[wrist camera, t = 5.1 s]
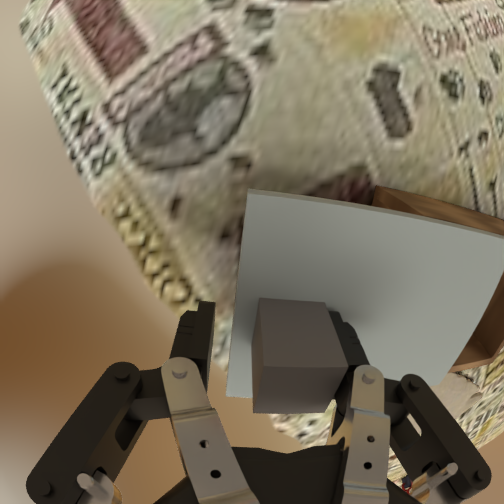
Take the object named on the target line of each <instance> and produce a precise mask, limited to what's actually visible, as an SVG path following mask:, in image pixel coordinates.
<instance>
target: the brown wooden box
mask: <svg viewBox="0 0 504 504" xmlns="http://www.w3.org/2000/svg"><path fill="white" fill-rule="evenodd" d="M372 206H374V207H379V208H385V209H390V210H395V211H400V212H405V213H410V214H415V215H420V216H425V217H429V218H434V219H438V220H443V221H447V222H451V223H456V224H460V225H464V226H468V227H472V228H476V229H480V230H484V231H488V232H491V233H495V234H499V235H502V236H504V220H502V219H499V218H496V217H493V216H490V215H487V214H484V213H480V212H477V211H474V210H471V209H467V208H464V207H461V206H457V205H454V204H450V203H447V202H443V201H439V200H436V199H432V198H428V197H424V196H420V195H416V194H412V193H408V192H404V191H399V190H395V189H391V188H386V187H382V186H377V185H376V188H375V193H374V197H373V201H372ZM503 346H504V271H503V274H502V276H501V278H500V281H499V283H498V285H497V287H496V289H495V292H494V294H493V296H492V298H491V300H490V302H489V304H488V306H487V308H486V310H485V312H484V314H483V316H482V317H481V319H480V321H479V323H478V325H477V327H476V328H475V330H474V332H473V334H472V335H471V337H470V339H469V340H468V342H467V344H466V345H465V347H464V349H463V350H462V352H461V353H460V355H459V356H458V358H457V359H456V361H455V362H454V364H453V365H452V367H451V368H450V370H449V371H448V373H451V372H456V371H461V370H466V369H470V368H475V367H479V366H483V365H487V364H491V363H492V362H493V361H494V359H495V358H496V356H497V355H498V353H499V352H500V350H501V349H502V347H503Z"/></svg>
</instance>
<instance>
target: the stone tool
mask: <svg viewBox="0 0 504 504" xmlns="http://www.w3.org/2000/svg"><path fill="white" fill-rule="evenodd" d="M429 387H430V388H431V389H432V391H433V392H434V393H435V394H436V396H437V397H438V398H439V400H440V401H441V402H442V403H443V405H444V406H445V407H446V409H447V410H448V411H449V413H450V414H451V415H452V416H453V418H454V419H456V418H457V417H459V416H460V415H461V414H462V413H464V412H465V411H466V410H467V409H469V408H470V407H471V406H473V405H474V404H476V403H477V402H478V401H479V400H480V399H481V398H482V395H481V393H480V392H478V393H476V392H477V391H478V390H479V389H480V387H479V386H478V385H475V384H474V383H473V382H471V381H470V379H468V380H466V378H465V377H464V376H463V375H462V376H461V375H459V374H456V372H451V373H447V374H446V376H445V377H444V378H443V380H442V381H441V383H440V384H439V385H434V386H429ZM474 393H475V394H474ZM407 417H408V419H409V420H410V422H411V423H412V425H413V426H414V428H415V429H416V431H417V432H418V433H419V434H420V433H421V429H420V427H419V426H418V424H417V423H416V422H415V420H414V419H413V417H412V416H411V414H409V415H408V416H407Z"/></svg>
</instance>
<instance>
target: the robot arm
mask: <svg viewBox="0 0 504 504" xmlns="http://www.w3.org/2000/svg"><path fill="white" fill-rule="evenodd" d="M215 305H216V302H208V301H199V305H198V310H197V311H189V310H187V311H186V312H185V313H184V314H183V315H182V316H181V317H180V321H179V324H178V328H177V332H176V335H175V339H174V343H173V347H172V350H171V354H170V358H169V360H167V361H166V362H165V363H164V364H163V366H161V367H159V368H157V369H152V370H142V371H139V369H138V368H137V367H136V366H135V365H133V364H131V363H128V362H118V363H114V364H112V365H111V366H109V368H107V370H106V371H105V372H104V374H103V375H102V376H101V377H100V379H99V380H98V381H97V383H96V384H95V385H94V387H93V388H92V389H91V390H90V392H89V393H88V394H87V396H86V397H85V398H84V400H83V401H82V402H81V403H80V405H79V406H78V407H77V409H76V410H75V412H74V413H73V414H72V415H71V417H70V418H69V420H68V421H67V422H66V424H65V425H64V426H63V428H62V429H61V430H60V432H59V433H58V435H57V436H56V437H55V439H54V440H53V441H52V443H51V444H50V446H49V447H48V449H47V450H46V451H45V453H44V454H43V456H42V457H41V458H40V460H39V461H38V463H37V464H36V466H35V467H34V469H33V470H32V471H31V473H30V475H29V476H28V478H27V481H26V489H27V492H28V494H29V496H30V498H31V499H32V500H33V501H34V502H35V503H36V504H121V503H122V495H121V492H120V490H119V489H118V487H117V486H116V485H114V481H115V479H116V478H117V476H118V474H119V472H120V470H121V469H122V467H123V465H124V463H125V462H126V460H127V458H128V456H129V454H130V453H131V451H132V449H133V447H134V445H135V444H136V442H137V440H138V438H139V436H140V435H141V433H142V431H143V429H144V428H145V426H146V424H147V422H148V420H152V419H160V418H170V422H171V425H172V429H173V433H174V437H175V441H176V444H177V448H178V451H179V455H180V459H181V462H182V465H183V469H184V472H185V475H186V477H185V478H183V479H182V480H181V481H180V482H179V483H178V484H177V485H175V486H174V487H173V488H172V489H171V490H170V491H168V492H167V493H166V494H165V495H163V496H162V497H161V498H160V499H158V500H157V501H156V502H155V503H153V504H460V503H462V502H464V501H466V500H467V499H469V498H471V497H472V496H474V495H476V494H477V493H479V492H480V491H482V490H483V489H485V488H486V487H487V486H488V485H489V484H490V481H491V470H490V468H489V466H488V465H487V463H486V462H485V460H484V459H483V457H482V456H481V455H480V453H479V452H478V451H477V449H476V448H475V446H474V445H473V443H472V442H471V441H470V439H469V438H468V437H467V435H466V434H465V432H464V431H463V430H462V428H461V427H460V426H459V424H458V423H457V422H456V420H455V419H454V418H453V416H452V415H451V414H450V413H449V411H448V410H447V409H446V407H445V406H444V405H443V403H442V402H441V401H440V400H439V398H438V397H437V396H436V394H435V393H434V392H433V391H432V389H431V388H430V387H429V386H428V384H427V383H426V382H425V381H424V380H423V379H422V378H421V377H420V376H418V375H415V374H406V375H404V376H403V377H402V379H401V380H400V381H398V380H392V379H387V378H384V376H383V374H382V373H381V371H380V370H379V369H377V368H376V367H374V366H371V365H370V363H369V361H368V359H367V356H366V354H365V352H364V349H363V347H362V345H361V342H360V340H359V338H358V335H357V333H356V331H355V329H354V328H353V327H352V326H351V325H350V324H349V323H348V322H343V320H342V318H341V315H340V313H339V312H338V311H328V312H329V315H330V317H331V320H332V323H333V325H334V328H335V331H336V333H337V336H338V339H339V341H340V344H341V347H342V350H343V353H344V355H345V358H346V361H347V364H348V369H347V371H346V373H345V375H344V377H343V379H342V381H341V383H340V385H339V387H338V389H337V390H336V392H335V394H334V396H333V398H332V399H335V400H336V405H335V407H334V409H333V415H332V420H331V425H330V430H329V434H328V439H327V443H326V445H324V446H313V447H310V448H307V449H303V450H300V451H296V452H293V453H288V454H286V453H280V452H275V451H270V450H265V449H261V448H247V447H231V446H230V443H229V441H228V438H227V436H226V433H225V431H224V429H223V426H222V424H221V421H220V418H219V416H218V413H217V411H216V410H215V408H212V407H211V405H210V402H209V399H208V396H207V388H208V380H209V371H210V362H211V353H212V345H213V336H214V322H215ZM409 414H411V416H412V417H413V419H414V420H415V422H416V423H417V424H418V426H419V427H420V429H421V436H420V435H419V433H418V432H417V431H416V429H415V428H414V426H413V425H412V423H411V422H410V420H409V419H408V417H407V416H408V415H409ZM389 445H390V447H391V448H392V450H393V451H394V453H395V455H396V456H397V458H398V460H399V461H400V463H401V464H402V466H403V468H404V469H405V471H406V473H407V474H408V476H409V478H410V479H411V481H412V483H413V484H412V490H411V491H410V495H409V494H408V493H407V492H405V491H404V490H402V489H401V488H400V487H398V486H397V485H396V484H394V483H393V482H392V481H390V480H389V479H388V478H387V472H388V460H389Z"/></svg>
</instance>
